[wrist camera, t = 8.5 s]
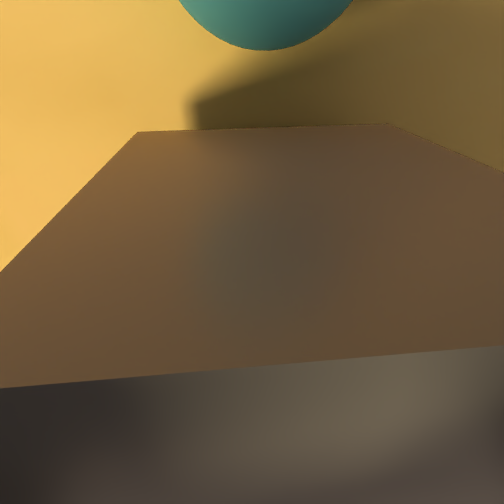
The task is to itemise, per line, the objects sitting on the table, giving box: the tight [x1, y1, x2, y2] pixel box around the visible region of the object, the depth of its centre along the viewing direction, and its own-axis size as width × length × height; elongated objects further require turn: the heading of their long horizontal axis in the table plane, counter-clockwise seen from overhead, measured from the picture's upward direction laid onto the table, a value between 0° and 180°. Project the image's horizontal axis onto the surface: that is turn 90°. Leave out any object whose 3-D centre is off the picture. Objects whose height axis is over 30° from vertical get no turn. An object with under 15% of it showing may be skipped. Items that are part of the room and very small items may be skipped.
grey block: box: [0, 123, 504, 504], centre depth 8 cm, size 8×8×9 cm
